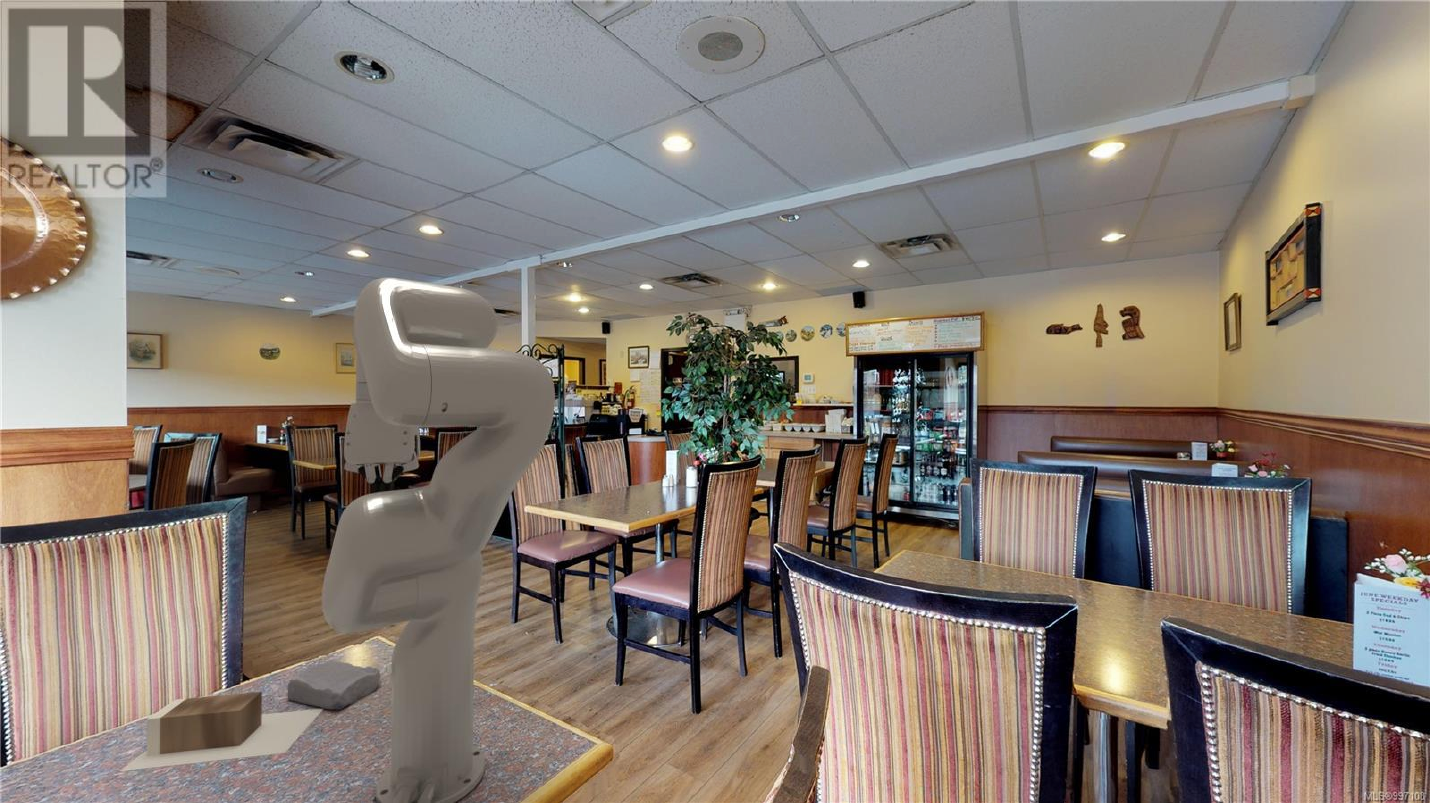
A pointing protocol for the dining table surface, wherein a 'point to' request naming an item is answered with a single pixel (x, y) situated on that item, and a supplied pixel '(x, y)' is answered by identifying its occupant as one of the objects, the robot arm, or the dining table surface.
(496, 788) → the dining table surface
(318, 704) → the stone block
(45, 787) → the dining table surface
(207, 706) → the walnut block
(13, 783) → the dining table surface
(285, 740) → the beige mat
